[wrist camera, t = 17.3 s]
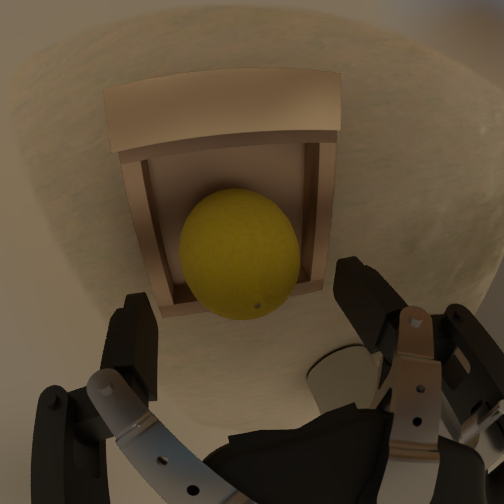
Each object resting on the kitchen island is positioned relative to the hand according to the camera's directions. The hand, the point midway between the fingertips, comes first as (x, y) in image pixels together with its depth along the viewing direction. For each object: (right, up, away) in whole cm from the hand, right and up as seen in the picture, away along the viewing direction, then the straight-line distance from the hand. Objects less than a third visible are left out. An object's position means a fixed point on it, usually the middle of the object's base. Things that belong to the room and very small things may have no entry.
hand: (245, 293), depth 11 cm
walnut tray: (-1, +4, +6) cm, 8 cm away
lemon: (-1, +4, +6) cm, 7 cm away
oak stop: (-2, +10, +2) cm, 10 cm away
